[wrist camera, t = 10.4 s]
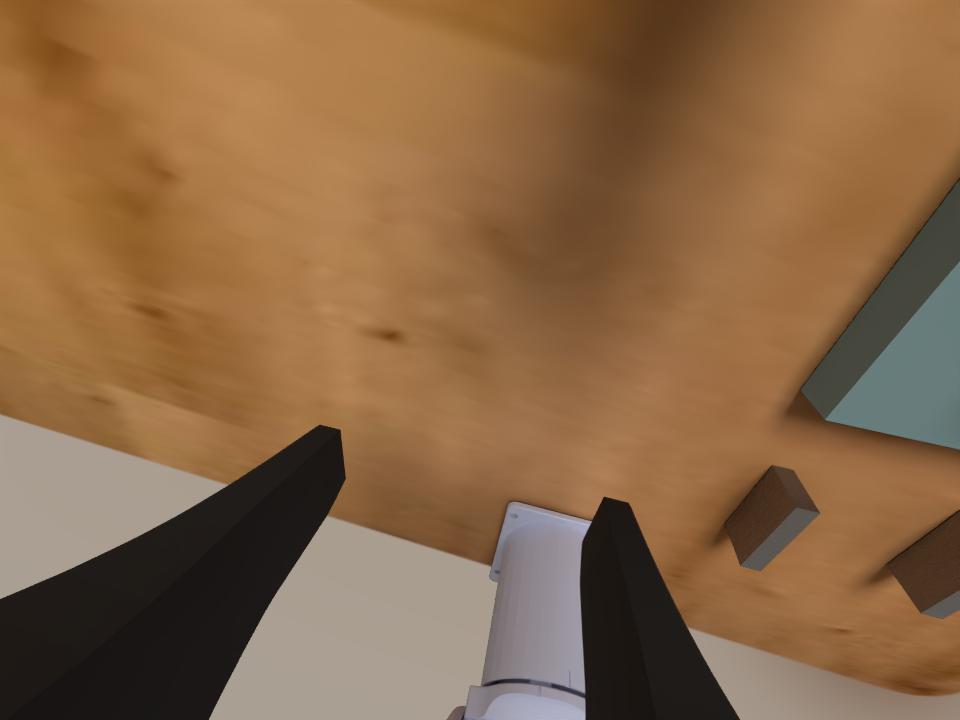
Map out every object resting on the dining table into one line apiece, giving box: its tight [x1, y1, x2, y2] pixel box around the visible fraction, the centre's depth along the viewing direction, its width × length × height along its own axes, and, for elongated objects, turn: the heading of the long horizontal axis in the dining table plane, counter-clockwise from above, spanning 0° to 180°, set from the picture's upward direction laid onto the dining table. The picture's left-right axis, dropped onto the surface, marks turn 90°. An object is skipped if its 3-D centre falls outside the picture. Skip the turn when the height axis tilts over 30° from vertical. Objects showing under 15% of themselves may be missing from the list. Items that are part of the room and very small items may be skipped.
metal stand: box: [725, 466, 960, 619], centre depth 19 cm, size 5×10×2 cm, turn 82°
